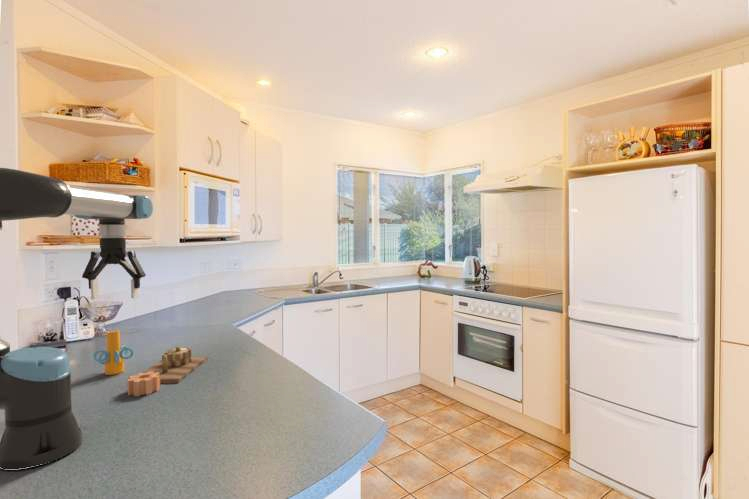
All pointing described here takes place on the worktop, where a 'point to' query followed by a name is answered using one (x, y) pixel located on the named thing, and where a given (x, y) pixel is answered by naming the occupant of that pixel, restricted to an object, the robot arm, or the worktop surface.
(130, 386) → the gear
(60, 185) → the robot arm
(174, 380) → the gear board
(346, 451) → the worktop surface
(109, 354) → the orange post with rings
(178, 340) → the worktop surface
